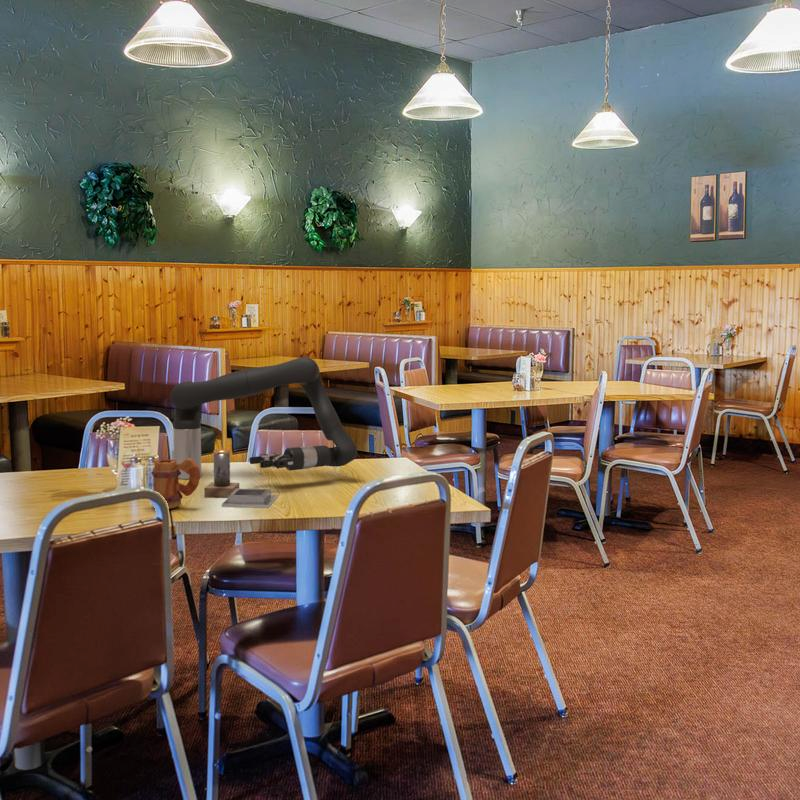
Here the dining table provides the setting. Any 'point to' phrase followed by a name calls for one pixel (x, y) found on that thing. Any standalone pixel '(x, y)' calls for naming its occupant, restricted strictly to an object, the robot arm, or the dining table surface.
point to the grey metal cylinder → (221, 467)
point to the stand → (219, 490)
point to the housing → (250, 498)
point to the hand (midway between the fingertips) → (255, 462)
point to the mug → (175, 479)
